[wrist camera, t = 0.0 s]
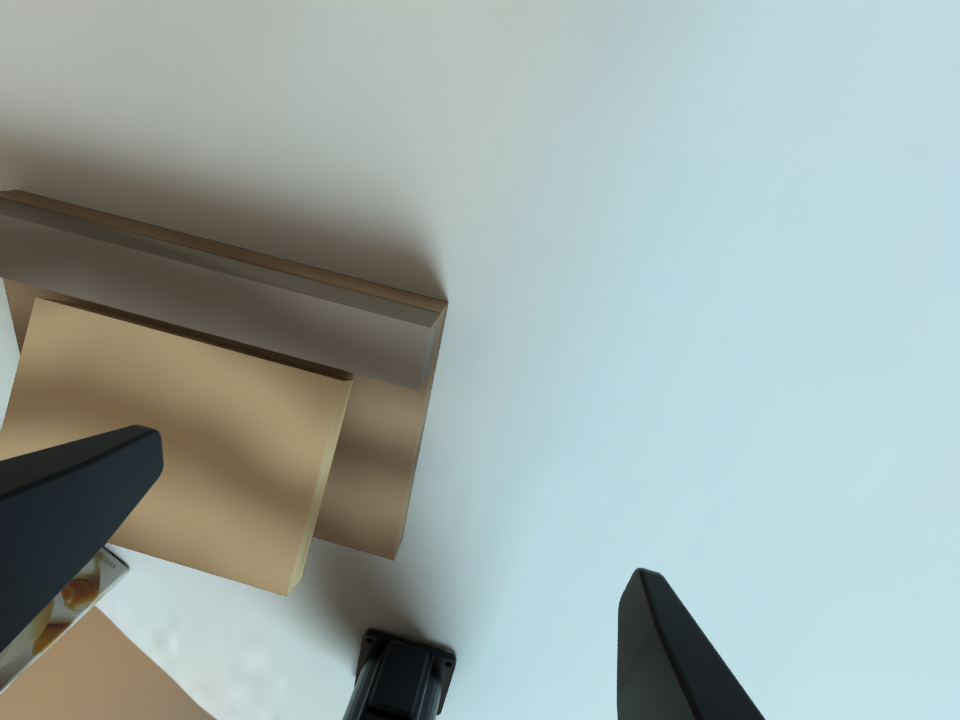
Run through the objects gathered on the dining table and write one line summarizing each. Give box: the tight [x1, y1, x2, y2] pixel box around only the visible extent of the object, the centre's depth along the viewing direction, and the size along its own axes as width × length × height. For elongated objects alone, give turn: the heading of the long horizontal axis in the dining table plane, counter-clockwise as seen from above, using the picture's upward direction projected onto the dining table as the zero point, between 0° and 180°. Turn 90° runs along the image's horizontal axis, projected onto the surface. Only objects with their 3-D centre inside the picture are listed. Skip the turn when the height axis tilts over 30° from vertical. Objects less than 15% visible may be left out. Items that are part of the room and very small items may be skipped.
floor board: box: [0, 190, 448, 560], centre depth 25 cm, size 16×22×3 cm
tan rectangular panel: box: [0, 297, 353, 596], centre depth 23 cm, size 10×15×2 cm, turn 77°
